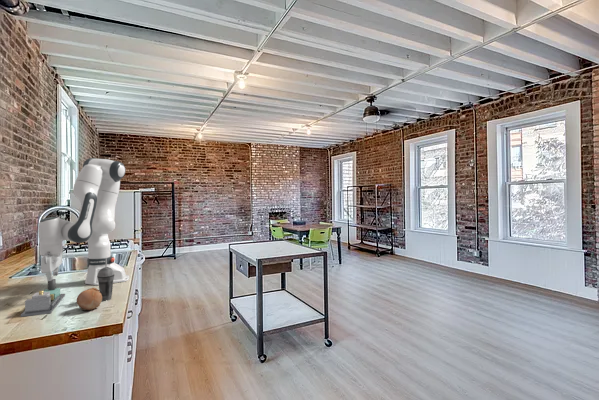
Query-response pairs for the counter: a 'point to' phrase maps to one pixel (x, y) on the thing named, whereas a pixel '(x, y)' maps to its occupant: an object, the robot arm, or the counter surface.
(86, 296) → the onion
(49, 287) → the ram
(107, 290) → the beverage cup
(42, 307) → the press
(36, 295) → the housing
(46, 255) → the robot arm
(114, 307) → the counter surface
